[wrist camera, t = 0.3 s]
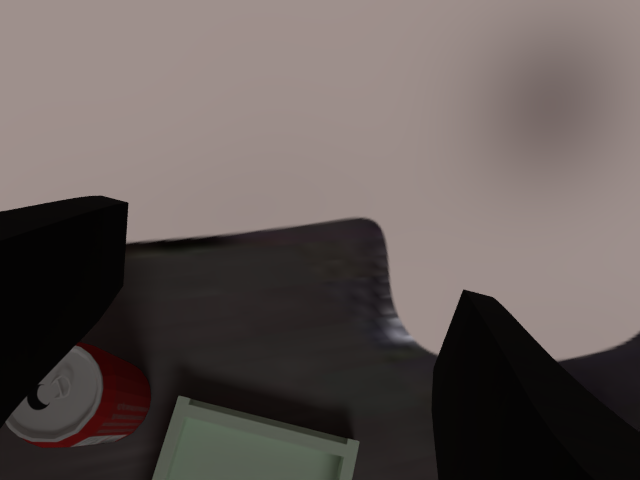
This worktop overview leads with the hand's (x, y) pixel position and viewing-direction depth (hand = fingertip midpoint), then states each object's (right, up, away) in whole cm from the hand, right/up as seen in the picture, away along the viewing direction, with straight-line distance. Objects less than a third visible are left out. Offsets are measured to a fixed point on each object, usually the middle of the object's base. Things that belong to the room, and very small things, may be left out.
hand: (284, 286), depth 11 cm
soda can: (-14, -10, +27) cm, 32 cm away
